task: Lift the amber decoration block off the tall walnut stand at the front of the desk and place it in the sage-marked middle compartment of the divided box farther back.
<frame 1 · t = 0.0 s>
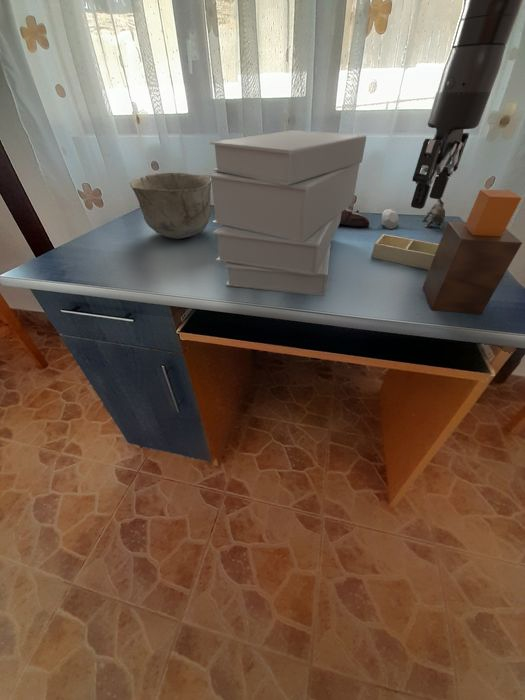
hand: (426, 202, 56), 16 cm above the table, tool pointing down, fingers open, 8 cm apart
grey mottled figurine: (431, 226, 94), on the table
divided box: (420, 261, 75), on the table
decor: (482, 231, 52), point 14 cm above the table, touching stand
book stack: (285, 260, 76), on the table
brown shoe: (347, 225, 96), on the table
bowl: (181, 235, 90), on the table
stand: (449, 300, 61), on the table
gemstone: (387, 227, 94), on the table
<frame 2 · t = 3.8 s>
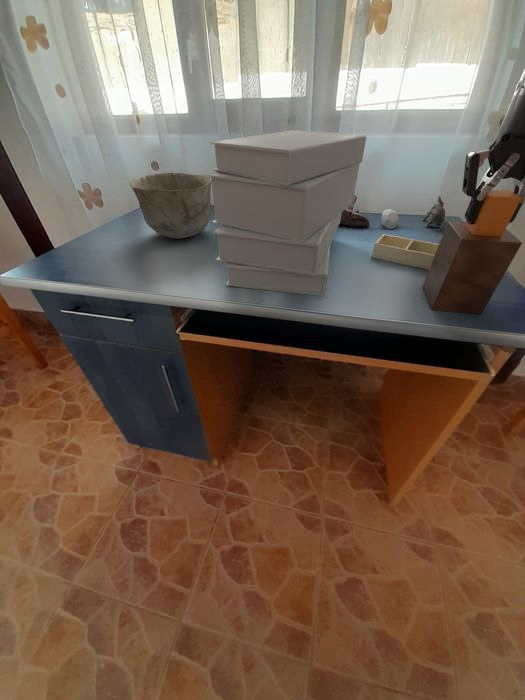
hand: (486, 223, 51), 15 cm above the table, tool pointing down, fingers closed on decor, 4 cm apart
decor: (482, 231, 52), point 14 cm above the table, touching gripper, stand
everything else where it was.
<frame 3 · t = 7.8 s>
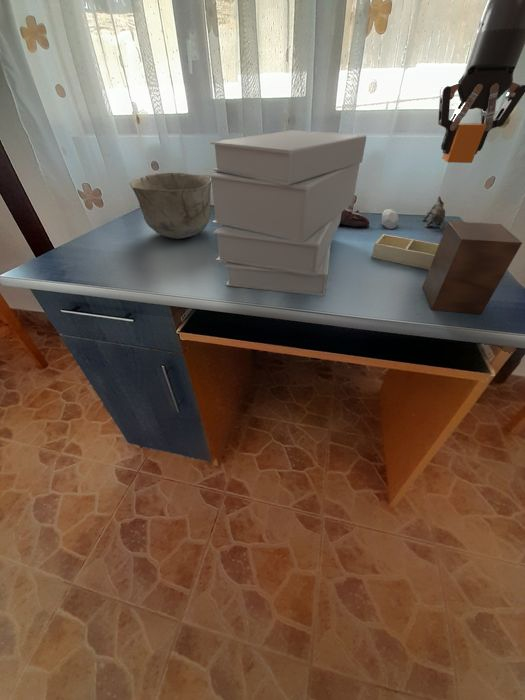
hand: (459, 153, 59), 23 cm above the table, tool pointing down, fingers closed on decor, 4 cm apart
decor: (456, 160, 60), point 22 cm above the table, touching gripper
everything else where it was.
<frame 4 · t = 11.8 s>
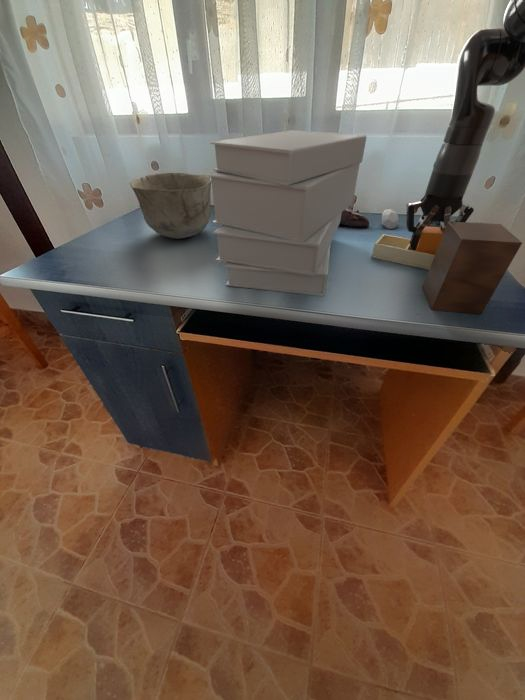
hand: (424, 249, 73), 3 cm above the table, tool pointing down, fingers closed on decor, 4 cm apart
decor: (422, 254, 74), point 2 cm above the table, touching gripper
everything else where it was.
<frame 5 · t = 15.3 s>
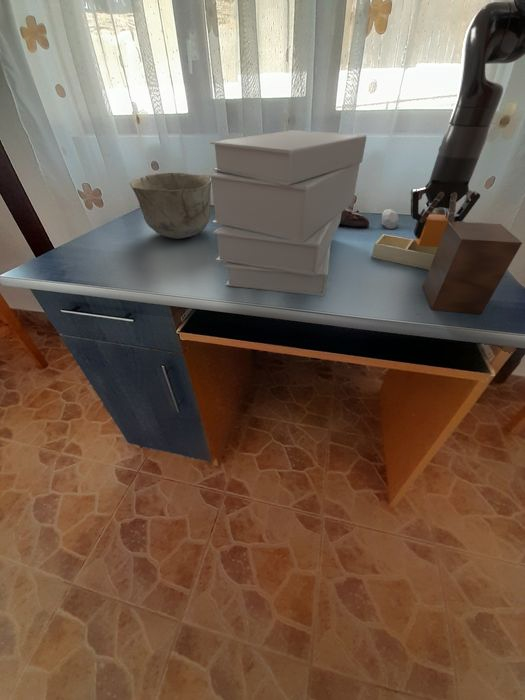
hand: (428, 237, 71), 6 cm above the table, tool pointing down, fingers closed on decor, 4 cm apart
decor: (426, 243, 72), point 5 cm above the table, touching gripper
everything else where it was.
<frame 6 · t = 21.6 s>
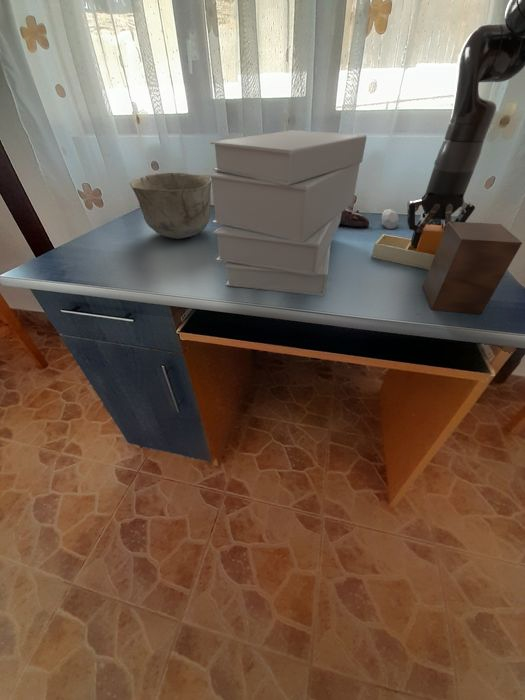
hand: (425, 247, 72), 4 cm above the table, tool pointing down, fingers closed on decor, 4 cm apart
decor: (423, 252, 73), point 2 cm above the table, touching gripper
everything else where it was.
when the fingers open (6 cm above the table, at t = 27.1 s): decor drops 4 cm, resting on divided box.
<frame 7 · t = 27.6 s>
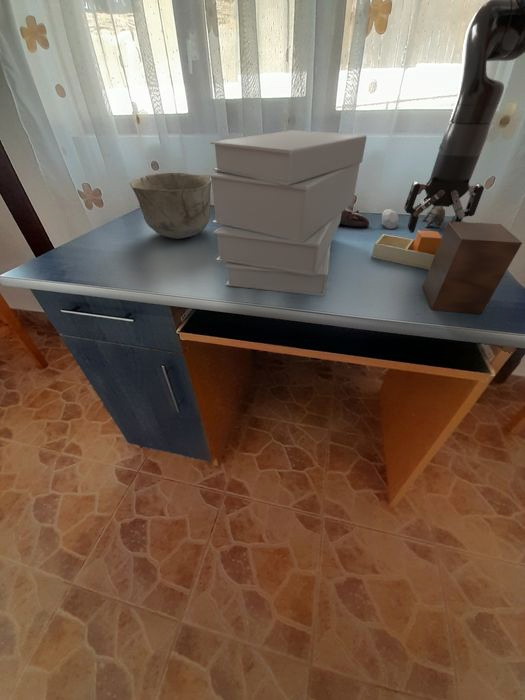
hand: (430, 232, 70), 7 cm above the table, tool pointing down, fingers open, 8 cm apart
decor: (421, 258, 74), point 1 cm above the table, touching divided box
everything else where it was.
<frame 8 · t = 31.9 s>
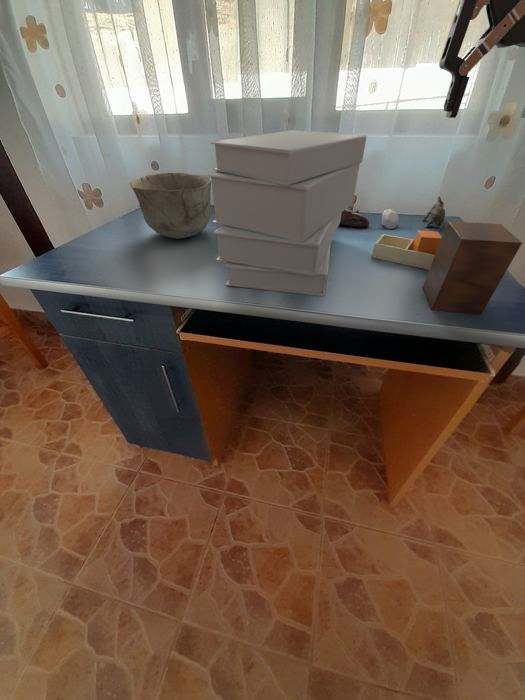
hand: (488, 117, 36), 30 cm above the table, tool pointing down, fingers open, 8 cm apart
nothing on the table moved.
at the end: decor 0.0 cm off-centre in the divided box, point 0.8 cm above the divided box's base; the gripper is holding nothing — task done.
